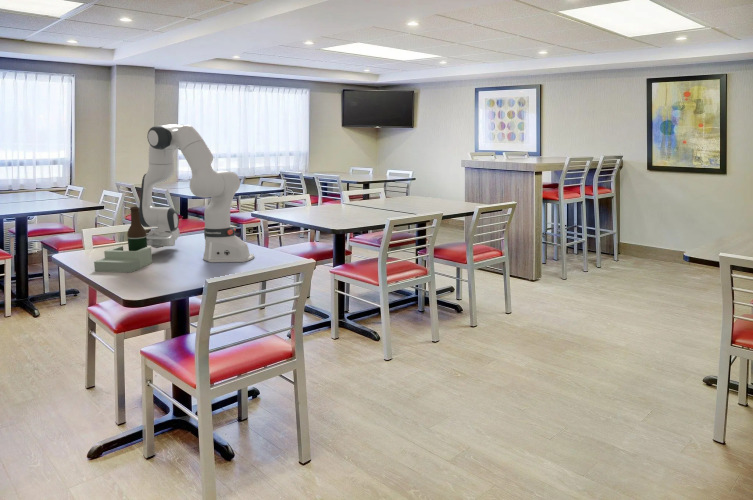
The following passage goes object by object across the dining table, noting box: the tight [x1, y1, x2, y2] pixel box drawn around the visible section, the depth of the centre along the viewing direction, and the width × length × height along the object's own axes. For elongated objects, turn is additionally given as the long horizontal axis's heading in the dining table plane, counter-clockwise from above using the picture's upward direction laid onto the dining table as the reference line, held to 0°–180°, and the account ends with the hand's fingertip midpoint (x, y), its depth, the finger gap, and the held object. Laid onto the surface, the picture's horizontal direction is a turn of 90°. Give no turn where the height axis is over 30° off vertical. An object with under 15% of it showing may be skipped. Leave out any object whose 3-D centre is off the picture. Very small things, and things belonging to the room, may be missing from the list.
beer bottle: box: [126, 206, 148, 251], centre depth 263 cm, size 8×8×24 cm
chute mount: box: [93, 245, 153, 273], centre depth 254 cm, size 16×18×7 cm
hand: (142, 243), depth 268 cm, fingers closed, pressing on beer bottle
